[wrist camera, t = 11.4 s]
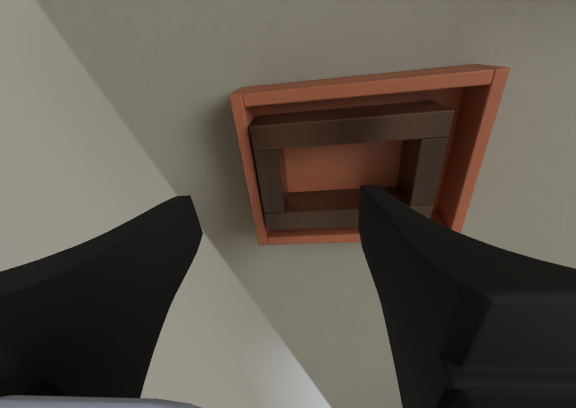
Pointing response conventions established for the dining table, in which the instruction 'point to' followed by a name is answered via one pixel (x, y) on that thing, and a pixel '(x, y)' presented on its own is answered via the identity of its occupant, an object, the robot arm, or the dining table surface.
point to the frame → (349, 130)
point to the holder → (375, 155)
